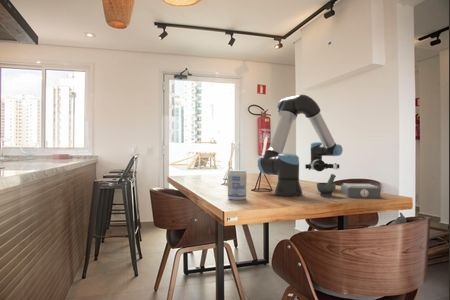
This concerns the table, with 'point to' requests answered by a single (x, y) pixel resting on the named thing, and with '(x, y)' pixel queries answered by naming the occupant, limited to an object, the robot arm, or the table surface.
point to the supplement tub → (237, 184)
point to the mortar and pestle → (327, 187)
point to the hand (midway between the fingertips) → (324, 167)
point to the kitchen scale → (360, 190)
